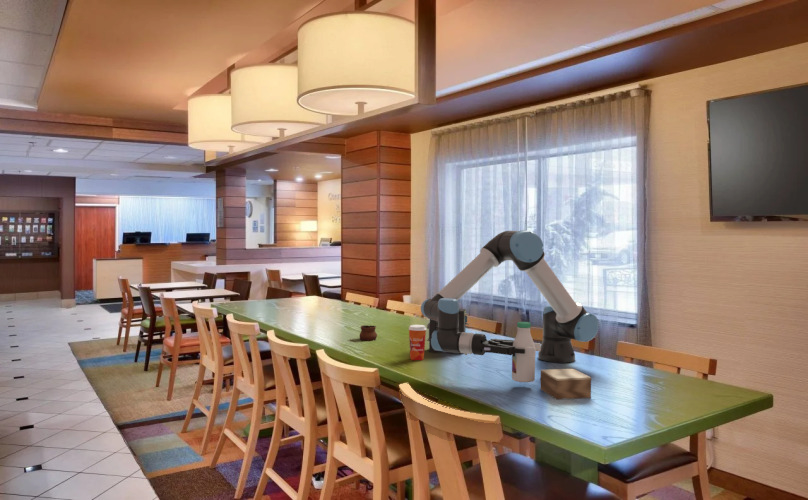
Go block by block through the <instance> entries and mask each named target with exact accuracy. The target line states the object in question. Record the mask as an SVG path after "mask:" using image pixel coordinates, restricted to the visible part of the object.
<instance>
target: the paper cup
mask: <svg viewBox="0 0 808 500" xmlns="http://www.w3.org/2000/svg"><path fill="white" fill-rule="evenodd" d="M408 332H409V333H408V337H409V338H408V339H409V357H410V360H411V361H415V360H420V361H423V360H424V359H425V348H426V347H425V345H426V334H427V326H426V325H425V324H410V325H409V326H408Z"/></svg>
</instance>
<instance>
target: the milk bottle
mask: <svg viewBox="0 0 808 500" xmlns="http://www.w3.org/2000/svg"><path fill="white" fill-rule="evenodd" d="M531 325H532V323H531V322H530V321H518V322H517V323H516V329H517V332H516V336H515V338H514V339H513V340H514V342H513V346H514V347H515V348H516V346H522V347H534V348H535V345H534V343H535V342H534V340H533V337H532V335H531ZM535 378H536V356H528V355H518V354H516V353H515V357H513V356H512V355H511V379H512V380H513V382H514V381H515V382H519V383H533V382H534V381H535V380H536V379H535Z"/></svg>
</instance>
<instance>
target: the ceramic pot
mask: <svg viewBox="0 0 808 500" xmlns="http://www.w3.org/2000/svg"><path fill="white" fill-rule="evenodd" d="M376 328H377V326H376V325H360V330H361V331H360V333H359V339H360V341H364V342H372V341H373V340H374V341H376V340H377V338H378V334H377V332H376ZM349 341H351V342H355V340H353V339H352V340H351V338H350V340H349ZM374 341H373V342H374ZM355 343H356V342H355Z"/></svg>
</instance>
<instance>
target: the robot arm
mask: <svg viewBox="0 0 808 500" xmlns="http://www.w3.org/2000/svg"><path fill="white" fill-rule="evenodd" d="M543 247H544V243H543V240H542V239H541V237H540V236H539V234H538V233H535V232H533V231H532V230H531V231H530V230H525V229H523V230H505V231H502V232H499V233H498V234H497V235H495V236H494V237H492V238H491V239H490V240H489V241H487V243H486V244H484V245H483V247H481V248H480V251H479V252H480V253H479V254H478V255H477V256H475V257H474V258H473V259H472V260H471V261H470V262H469V263H468V264H467V265H466V266H465V267H463V269H461V271H460V272H459V273H458V274H456V275H455V276H454V277H453V278H452V279H451V280H450V281H449V282H448V283H447V284H446V285H445V286H444V287H443V288H441V289H440V291H438V292H437V293H436V294H435V295H434V296H433V297H432V298H426V299H424V300H423V302H422V303H421V305H420V312H421V314H422V315H423V316H424V317H425V318H427V319H428V320H430V319H432V320H435V321H438V330H435V331H434V332H433V333H432V338H431V345H432V348H433V349H434V350H437V351H443V352H454V353H453V354H456V353H464V356H467V355H475V356H484V355H485V353H488V354H489V353H491V354H498V355H505V356H511V357H512V356H513V357H515V353H516V354H518V355H528V356H535V357H536V352H538V353H537V354H538V355H537V358H538V359H539V360H541V361H545V362H549V363H559V364H561V363H565V364H566V363H567V364H568V363H572V362H573V363H574V362H575V361H576V354H575V350H574V347H573V344H572V340H574V341H577V342H583V343H584V342H585V343H586V342H590V341H592V340H593V339H594V338H595V337H596V336H597V334H598V331H599V328H600V327H599V326H600V325H599V319H598V317H597V316H596V315H595V314H593V313H592V312H588V311H587V310H586V309H585V307H584V306H583V304H582V303H580V302H578V301H575V300H574V299H573V297H572V296H571V294H570V293H569V292H568V291H567V289H566V287H565V286H564V285H563V284H562V281H560V279H559V278H558V277H557V275H556V273H555V272H554V270H553V269H552V268H551V267H550V265H549V264H548V262H547V261H546V260H545V255H546V253H545V251H544V248H543ZM506 261H512V262H513V263H514V265H515V266H516V267H517V269H518V270H519V271H520V272H521V271H522V272H525V273H526V274H527V275H528V277H529V278H530V280H531V282H532V283H533V284H534V285H535V287H536V288H537V289H538V291H539V292H540V293H541V295H542V296H543V297H544V299H545V300H546V302H547V303H548V305H545V306H544V308H543V313H542V319H543V320H542V342H541V343H540V342H534V345H535V348H534V347H522V346H516V348H515V347H514V346H513V342H514V340H515V339H502V338H501V339H500V338H490V340H489V339H487V336H486V335H485V334H484V333H477V332H475V333H474V332H466V331H465V332H459V331H458V329H459V327H458V325H459V309H460V307H459V300H460V299H461V298H463V296H464V295H465V294H467V293H468V291H470V290H471V289H472V288H473V287H474V286H475V285H476V284H477V283H478V282H479V281H480V280H481V279H482V278H483V277H484V276H485V275H487V273H488V272H489V271H491V269H493V268H496V267H498V266H500V265H501V264H502V263H504V262H506Z"/></svg>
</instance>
